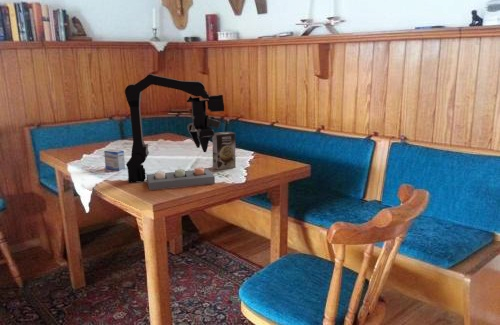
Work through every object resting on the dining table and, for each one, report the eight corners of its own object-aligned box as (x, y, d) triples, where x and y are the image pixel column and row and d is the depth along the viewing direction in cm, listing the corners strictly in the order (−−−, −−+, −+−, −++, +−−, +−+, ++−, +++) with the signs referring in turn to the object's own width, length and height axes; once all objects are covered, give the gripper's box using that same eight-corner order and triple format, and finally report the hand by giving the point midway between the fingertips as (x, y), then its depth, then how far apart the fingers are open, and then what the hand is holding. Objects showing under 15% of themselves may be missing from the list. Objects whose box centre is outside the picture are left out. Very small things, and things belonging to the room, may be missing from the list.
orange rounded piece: (195, 177, 175) (195, 170, 174) (193, 175, 178) (193, 168, 178) (205, 176, 176) (205, 169, 175) (203, 174, 179) (203, 167, 179)
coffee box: (218, 170, 193) (217, 135, 189) (212, 166, 198) (211, 132, 194) (236, 167, 197) (235, 133, 193) (230, 164, 202) (229, 130, 198)
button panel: (149, 190, 166) (149, 182, 165) (146, 181, 177) (146, 174, 176) (214, 183, 174) (214, 176, 173) (208, 175, 185) (208, 168, 184)
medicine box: (105, 169, 196) (103, 150, 194) (111, 166, 200) (110, 148, 198) (119, 171, 193) (117, 152, 191) (125, 168, 197) (124, 150, 195)
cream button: (155, 181, 170) (155, 174, 169) (154, 178, 174) (154, 171, 173) (166, 180, 171) (165, 173, 170) (164, 177, 175) (164, 170, 174)
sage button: (176, 179, 172) (175, 172, 171) (174, 177, 176) (174, 170, 175) (185, 178, 173) (185, 171, 173) (184, 176, 177) (184, 169, 176)
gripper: (225, 113, 169) (227, 151, 173) (210, 108, 185) (212, 143, 189) (198, 116, 165) (201, 155, 169) (185, 110, 181) (188, 146, 185)
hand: (201, 149), depth 178 cm, fingers open, 9 cm apart
